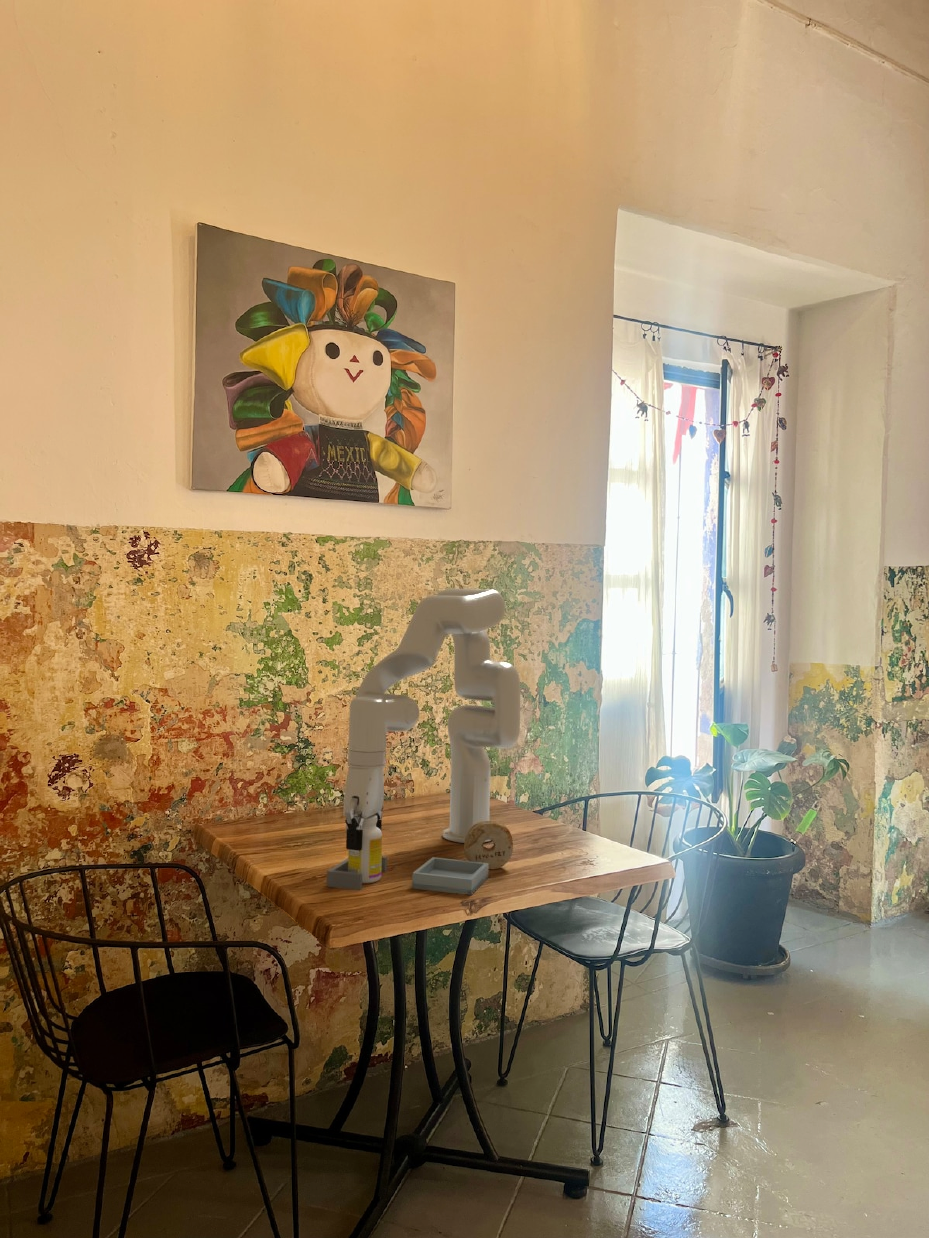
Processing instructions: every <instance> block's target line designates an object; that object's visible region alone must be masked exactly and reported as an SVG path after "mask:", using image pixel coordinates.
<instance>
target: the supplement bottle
mask: <svg viewBox="0 0 929 1238" xmlns="http://www.w3.org/2000/svg"><path fill="white" fill-rule="evenodd" d="M358 820H359V819H356V821H357V823H358ZM376 823H377V815H375V814H374V815H372V816H370V817H368V818H365V819H364V820H363V824H362V827H361V830H363V839H362V850H360V851H358V850H349V849H348V855H347V858H348V872H353V873H361V874H362V884H371V883H375V882H379V880H380V879H381V878H382V872H381V864H382V856H383V855H382V853H383V848H382V847H383V846H382V845H383V843H382V842H383V841H382V839H383V835H382V834H383V833H382V829H381V830H380V829H379V828H378V827H376Z"/></svg>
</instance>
